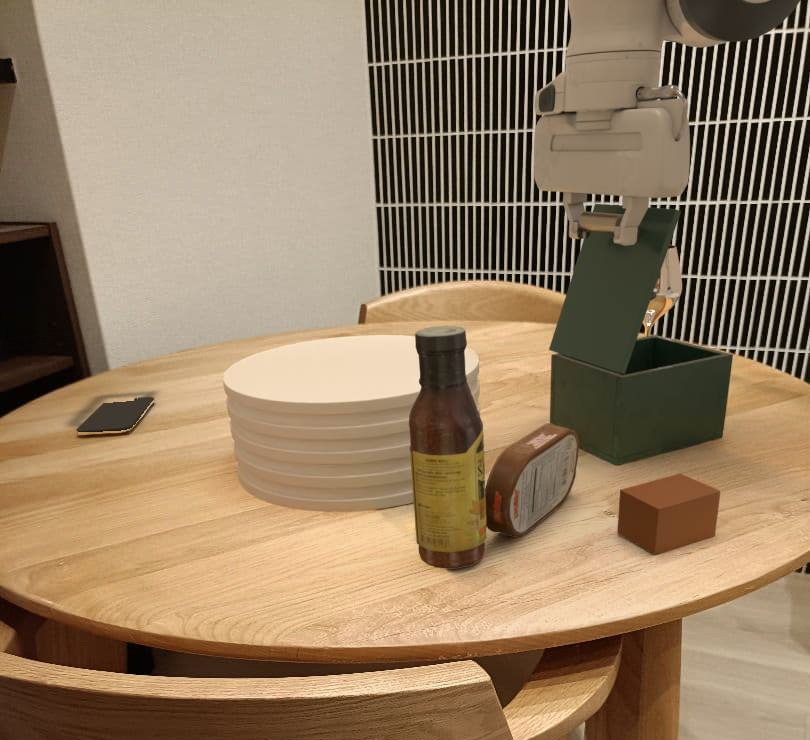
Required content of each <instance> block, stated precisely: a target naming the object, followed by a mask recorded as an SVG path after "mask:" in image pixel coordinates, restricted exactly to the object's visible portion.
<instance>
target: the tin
mask: <svg viewBox="0 0 810 740" xmlns="http://www.w3.org/2000/svg"><path fill="white" fill-rule="evenodd" d="M579 449H580V448H579V438H578V435H577V434H576V432H575V431H573V430H571V429H569V428H565V427H561V426H556V425H554V424H552V423H550V422H547V423H544V424H543V425H541V426H539V427H537V428H535V429H534V430H533V431H532V432H529V433H528V434H526V435H524V436H523V437H521V438H520V439H518V440H516V441H515V442H513V443H510V444H509V445H508V446H507V447H505V448H504V449H503V450H502V451H501V452H500V454H499V455H498V456H497V458H496V460H495V462H494V464H493V465H492V467H491V469H490V472H489V474H488V477H487V481H486V482H485V492H486V493H485V498H486V529H487V530H489V531H490V532H493V533H499V534H502V535H506V536H509V537H512V538H513V537H514V538H521V537H523V536H525V535H526V534H528V533H529V532H530V531H531V530H533V529H534V528H535V527H536V526H537V525H539V524H540V523H542V521H544V520H545V519H547V518H548V517H549V516H550V515H551V514H552V513H554V512H555V511H556V510H557V509H559V508H560V507H561V506H562V505H563V504H564V502H565V501H566V500H567V498H568V497H569V494H570V492H571V490H572V488H573V485H574V482H575V479H576V475H577V464H578V458H579Z"/></svg>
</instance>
